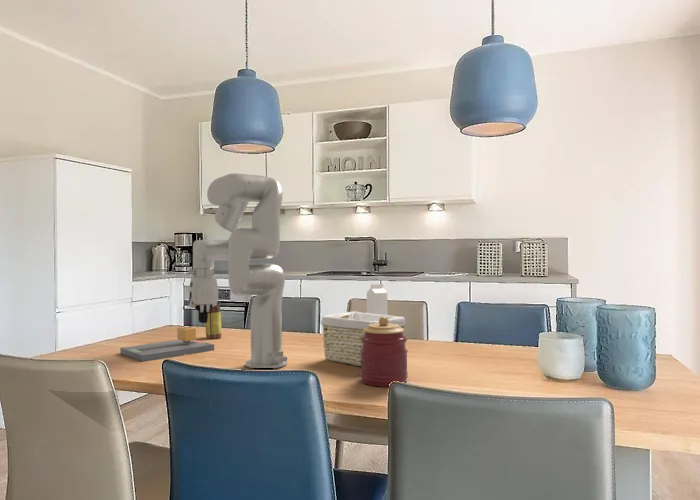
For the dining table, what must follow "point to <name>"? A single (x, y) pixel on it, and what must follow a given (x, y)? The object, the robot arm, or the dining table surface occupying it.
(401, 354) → the canister
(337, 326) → the storage basket
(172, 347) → the switch board
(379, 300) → the milk
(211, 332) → the sauce bottle
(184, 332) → the switch knob
